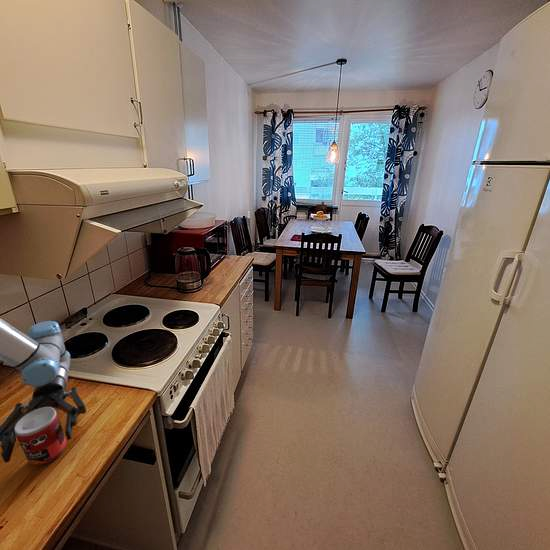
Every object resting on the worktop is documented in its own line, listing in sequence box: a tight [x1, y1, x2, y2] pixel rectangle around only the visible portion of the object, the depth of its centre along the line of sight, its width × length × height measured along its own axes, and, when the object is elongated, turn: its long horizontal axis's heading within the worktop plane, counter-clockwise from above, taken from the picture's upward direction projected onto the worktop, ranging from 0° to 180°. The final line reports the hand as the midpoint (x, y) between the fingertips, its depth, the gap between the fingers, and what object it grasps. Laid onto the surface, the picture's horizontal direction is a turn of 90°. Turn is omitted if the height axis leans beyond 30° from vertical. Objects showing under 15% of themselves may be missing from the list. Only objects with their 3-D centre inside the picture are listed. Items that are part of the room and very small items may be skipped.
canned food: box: [14, 407, 67, 466], centre depth 71 cm, size 8×8×11 cm
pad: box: [37, 450, 64, 467], centre depth 73 cm, size 6×6×1 cm
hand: (37, 446), depth 67 cm, fingers open, 11 cm apart
